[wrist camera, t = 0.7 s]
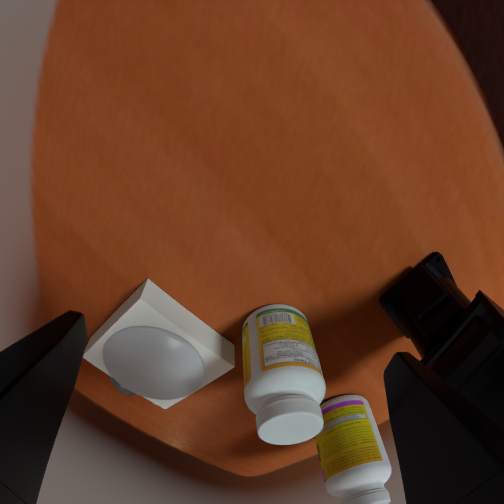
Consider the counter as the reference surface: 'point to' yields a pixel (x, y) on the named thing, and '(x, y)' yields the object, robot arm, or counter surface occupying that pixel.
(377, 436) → the supplement bottle
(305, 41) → the counter surface
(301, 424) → the supplement bottle
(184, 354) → the scale
